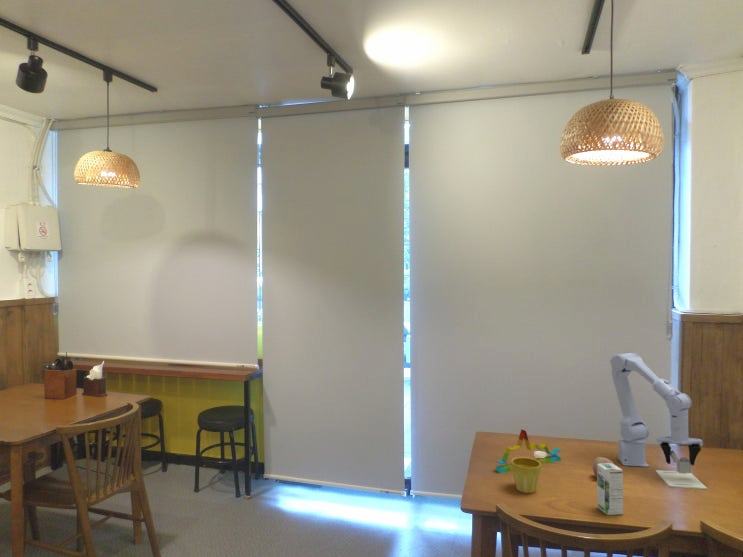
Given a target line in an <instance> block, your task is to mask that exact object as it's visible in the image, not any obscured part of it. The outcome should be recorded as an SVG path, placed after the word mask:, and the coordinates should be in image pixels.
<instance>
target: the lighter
mask: <svg viewBox="0 0 743 557" xmlns="http://www.w3.org/2000/svg"><path fill="white" fill-rule="evenodd" d="M670 459H671V460H672V461H673V462H674V463H675V464H676V467H677V468H676V470H677V472H679V473H692V465H691V461H689V459H688V458H687V457H680V459H679V457H678V456H677V455H676V452H675V451H674V450H671V451H670Z"/></svg>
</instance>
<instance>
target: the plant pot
mask: <svg viewBox="0 0 743 557" xmlns="http://www.w3.org/2000/svg"><path fill="white" fill-rule="evenodd" d="M510 464H511V471H510V472H511V473H513V479H514V483H515V488H516V490H517V491H519V492H520V493H524V494H525V493H526V494H532V493H535V492H536V490H537V484H538V481H539V477H540V475H541V473H542V465H541V463H540V462H539V461H537V460H535V458H531V457H528V456H527V457H526V456H518V457H514V458H512V459H511V460H510Z"/></svg>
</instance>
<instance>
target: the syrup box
mask: <svg viewBox="0 0 743 557" xmlns="http://www.w3.org/2000/svg"><path fill="white" fill-rule="evenodd" d="M596 477H597V480H596V483H597V484H596V486H597V489H596V490H597V491H596V492H597V508H598V509H599V510H600V511H602V513H604V514H605V515H606V516H617V515H624V498H623V497H624V488H623V487H624V481H623V480H624V475H623V469H622V468H620V467H619V466H617V465H616V464H612V463H601V464H597V476H596Z"/></svg>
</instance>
